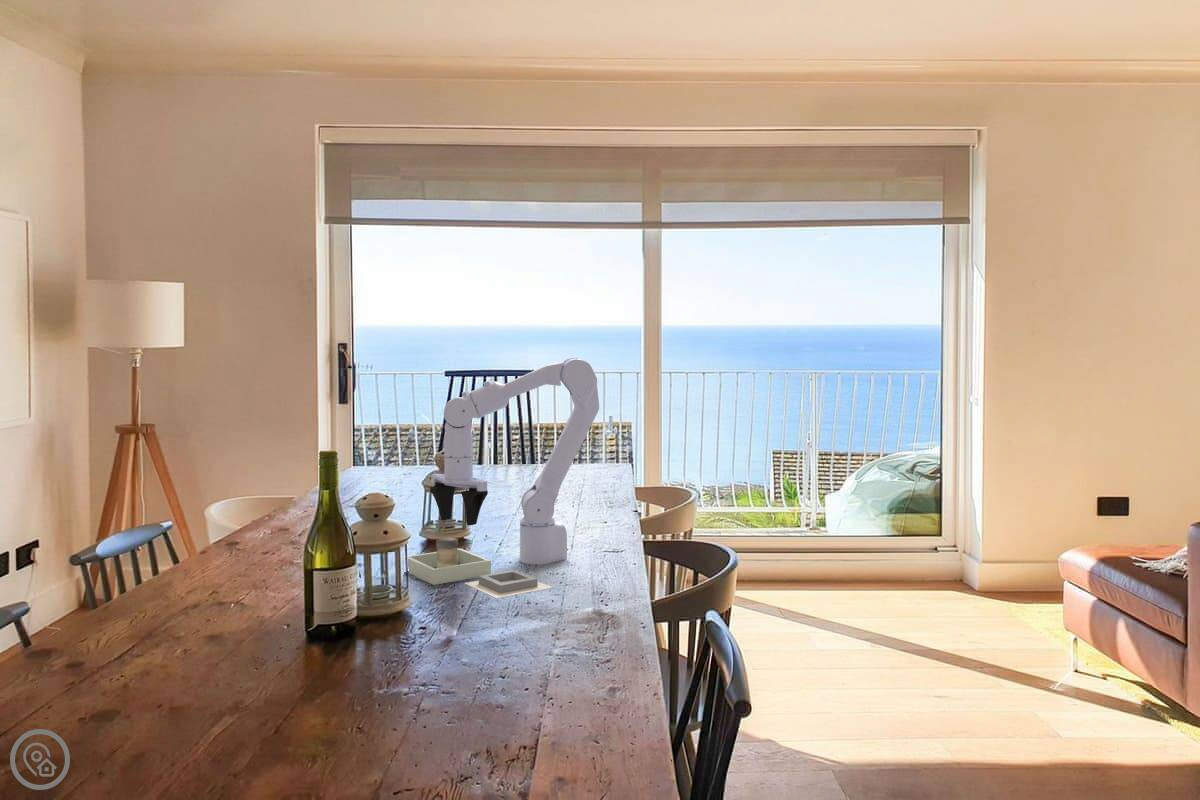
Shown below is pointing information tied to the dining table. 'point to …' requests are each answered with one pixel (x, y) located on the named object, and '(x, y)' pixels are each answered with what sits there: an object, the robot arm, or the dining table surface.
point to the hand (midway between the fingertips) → (458, 522)
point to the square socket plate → (507, 583)
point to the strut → (446, 552)
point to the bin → (467, 569)
